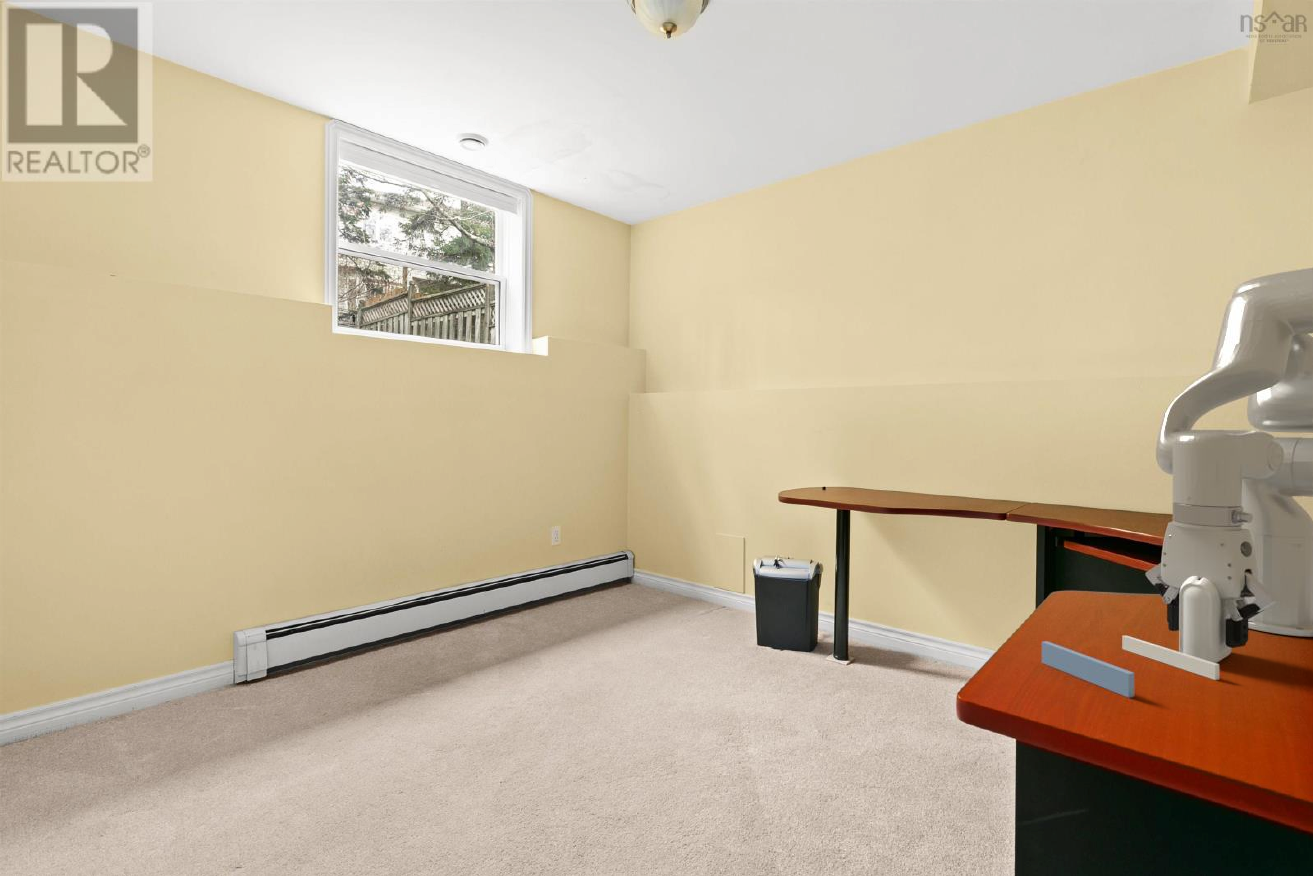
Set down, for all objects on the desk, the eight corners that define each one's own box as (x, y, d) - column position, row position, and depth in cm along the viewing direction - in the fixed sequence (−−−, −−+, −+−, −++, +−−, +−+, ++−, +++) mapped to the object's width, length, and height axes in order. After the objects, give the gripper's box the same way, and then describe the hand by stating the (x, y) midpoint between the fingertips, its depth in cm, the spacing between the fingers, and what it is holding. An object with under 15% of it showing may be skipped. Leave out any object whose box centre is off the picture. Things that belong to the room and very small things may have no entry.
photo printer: (1198, 644, 94) (1198, 565, 94) (1235, 653, 90) (1236, 570, 90) (1174, 659, 88) (1174, 575, 88) (1213, 669, 84) (1213, 581, 84)
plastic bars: (1126, 648, 93) (1126, 628, 92) (1219, 679, 81) (1219, 657, 81) (1041, 662, 87) (1041, 642, 87) (1128, 697, 76) (1128, 674, 76)
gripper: (1300, 523, 82) (1299, 655, 82) (1159, 507, 98) (1159, 617, 98) (1263, 527, 79) (1263, 662, 80) (1126, 510, 96) (1125, 622, 96)
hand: (1205, 636), depth 89 cm, fingers open, 6 cm apart
